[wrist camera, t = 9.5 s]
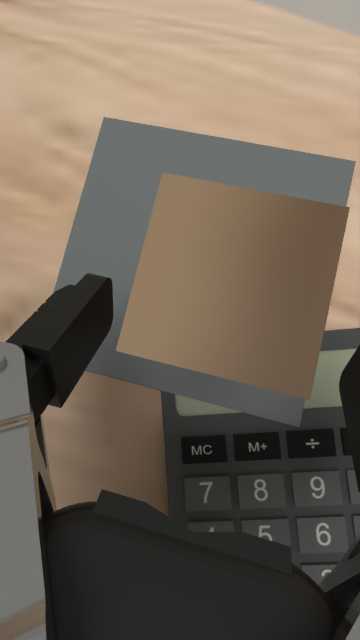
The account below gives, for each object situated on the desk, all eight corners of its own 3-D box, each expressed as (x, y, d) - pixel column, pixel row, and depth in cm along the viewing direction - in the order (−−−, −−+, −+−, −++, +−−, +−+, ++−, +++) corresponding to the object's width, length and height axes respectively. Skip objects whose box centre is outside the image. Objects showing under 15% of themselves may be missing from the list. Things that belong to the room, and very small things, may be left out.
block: (170, 353, 17) (115, 351, 7) (188, 279, 17) (162, 172, 7) (246, 372, 16) (309, 400, 6) (264, 296, 17) (349, 207, 7)
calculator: (179, 669, 15) (157, 344, 17) (181, 650, 16) (159, 345, 18) (445, 667, 14) (393, 325, 16) (431, 648, 15) (382, 326, 17)
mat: (39, 357, 18) (35, 356, 17) (106, 122, 19) (104, 117, 18) (297, 425, 16) (299, 427, 16) (352, 165, 17) (355, 161, 17)
